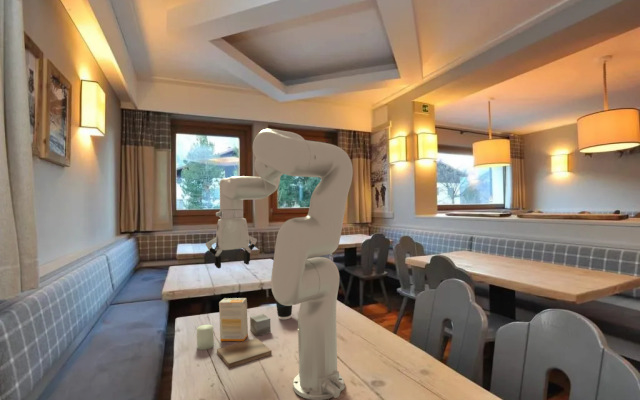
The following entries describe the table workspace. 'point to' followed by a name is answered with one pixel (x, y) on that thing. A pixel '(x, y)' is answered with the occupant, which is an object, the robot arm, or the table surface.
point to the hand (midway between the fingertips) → (232, 265)
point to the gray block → (260, 324)
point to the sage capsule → (205, 337)
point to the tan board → (243, 352)
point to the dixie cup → (283, 311)
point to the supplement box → (233, 319)
